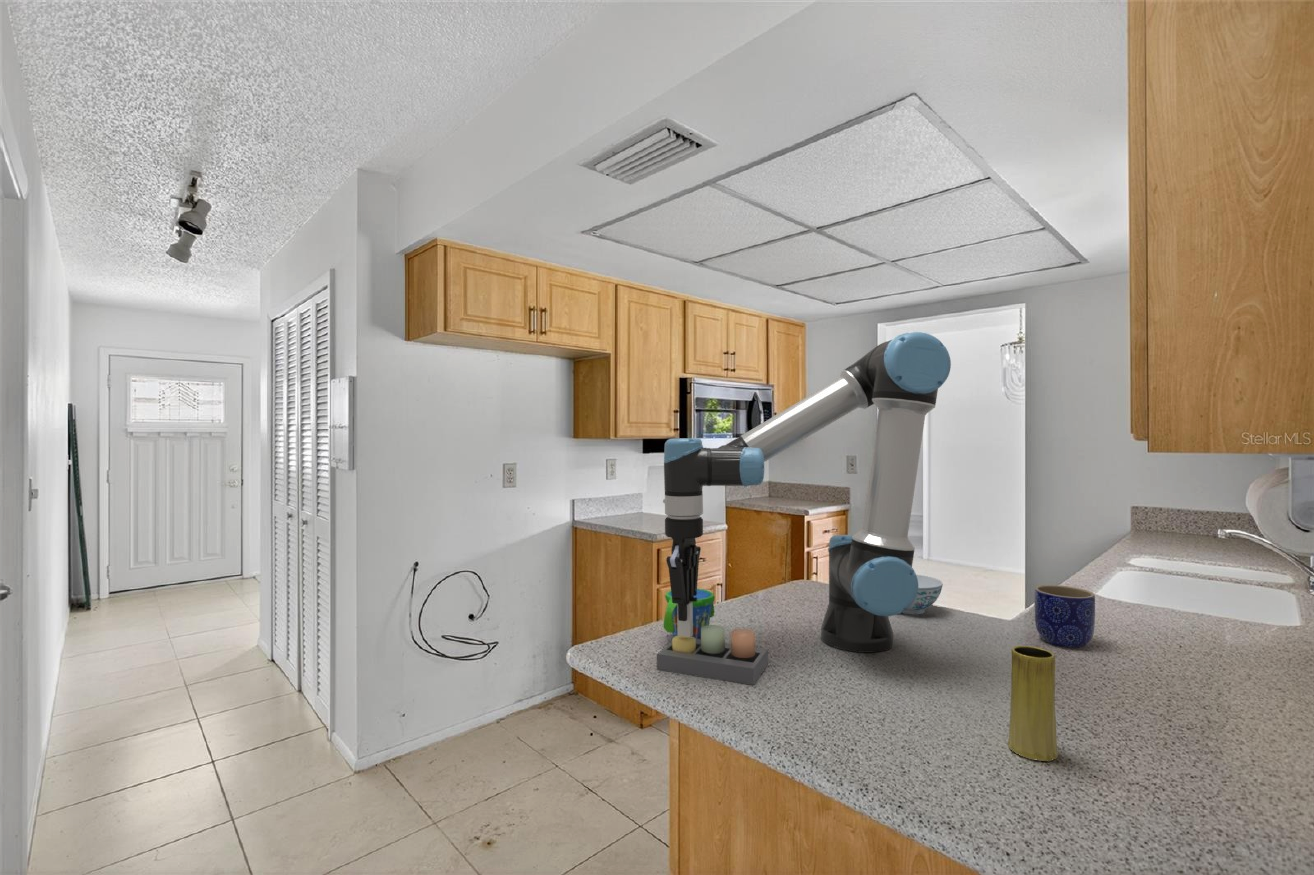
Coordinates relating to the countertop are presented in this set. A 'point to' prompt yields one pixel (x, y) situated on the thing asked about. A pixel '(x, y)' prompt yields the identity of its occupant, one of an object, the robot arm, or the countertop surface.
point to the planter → (1064, 615)
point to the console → (714, 664)
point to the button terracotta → (743, 643)
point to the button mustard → (684, 644)
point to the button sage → (713, 639)
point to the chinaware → (925, 594)
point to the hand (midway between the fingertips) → (685, 635)
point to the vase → (1033, 703)
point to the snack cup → (700, 612)
